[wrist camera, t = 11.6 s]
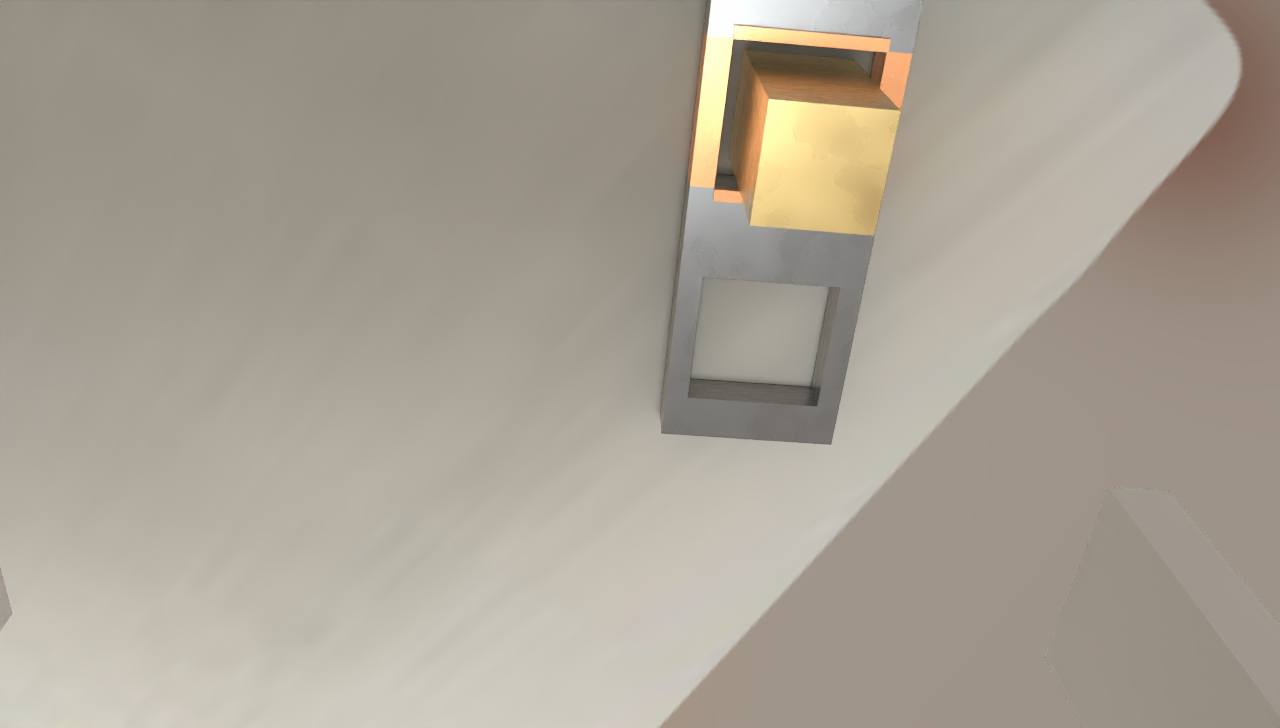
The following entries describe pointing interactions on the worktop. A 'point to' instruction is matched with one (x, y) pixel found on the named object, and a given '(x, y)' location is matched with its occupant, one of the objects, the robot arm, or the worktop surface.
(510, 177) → the worktop surface
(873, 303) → the worktop surface
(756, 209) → the block
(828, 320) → the grey slotted board
